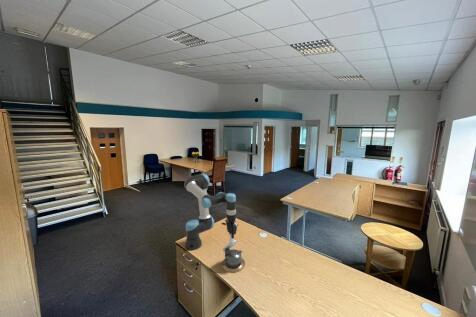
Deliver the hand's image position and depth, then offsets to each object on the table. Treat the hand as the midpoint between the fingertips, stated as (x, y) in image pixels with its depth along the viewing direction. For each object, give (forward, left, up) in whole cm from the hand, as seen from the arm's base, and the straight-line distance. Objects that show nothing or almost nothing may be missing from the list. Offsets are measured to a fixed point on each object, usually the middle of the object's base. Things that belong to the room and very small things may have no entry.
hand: (231, 241), depth 165 cm
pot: (+1, 0, -20) cm, 20 cm away
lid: (-2, 0, -5) cm, 5 cm away
